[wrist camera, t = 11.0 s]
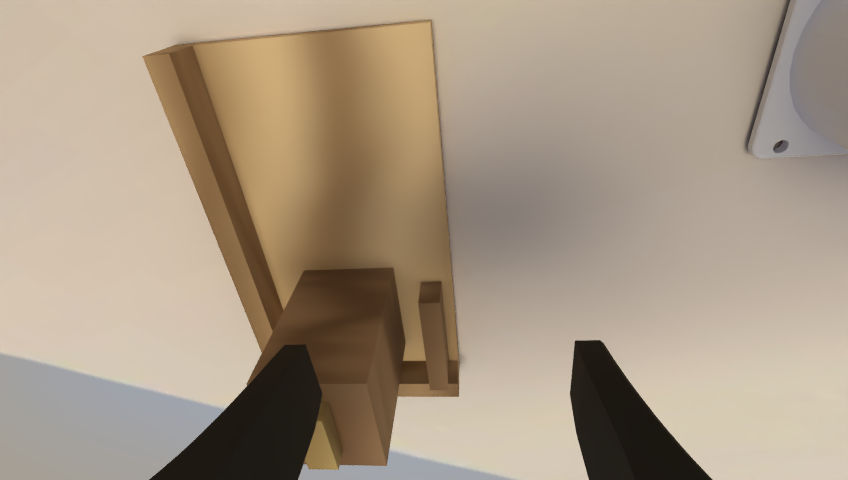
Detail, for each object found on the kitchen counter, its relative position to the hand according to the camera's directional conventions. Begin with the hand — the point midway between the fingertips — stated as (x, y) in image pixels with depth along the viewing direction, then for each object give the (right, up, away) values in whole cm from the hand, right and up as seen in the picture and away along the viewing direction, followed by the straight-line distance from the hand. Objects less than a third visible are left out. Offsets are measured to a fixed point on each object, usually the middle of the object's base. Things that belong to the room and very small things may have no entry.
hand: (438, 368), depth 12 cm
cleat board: (-4, +4, +10) cm, 11 cm away
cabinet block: (-4, 0, +11) cm, 12 cm away
